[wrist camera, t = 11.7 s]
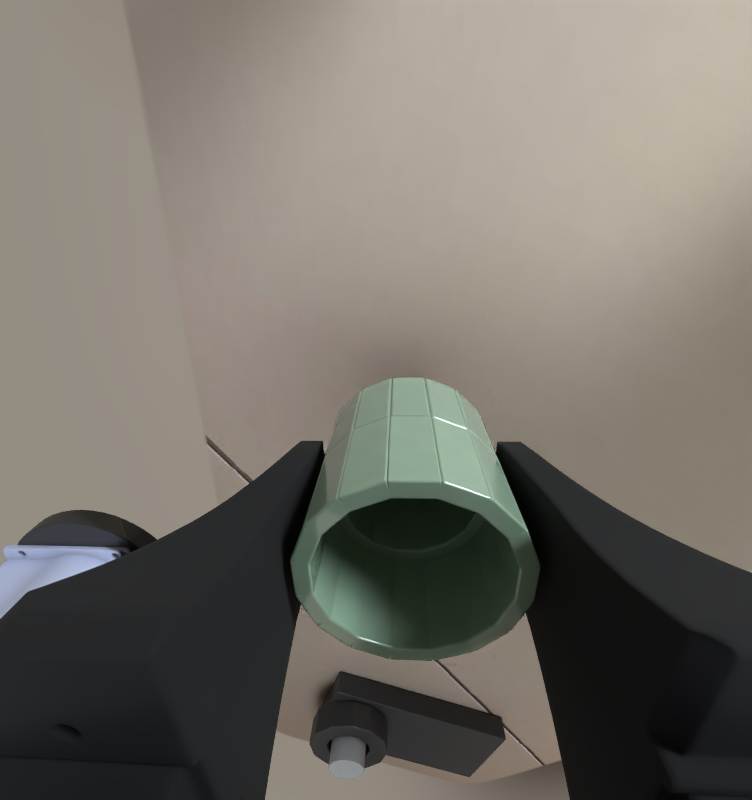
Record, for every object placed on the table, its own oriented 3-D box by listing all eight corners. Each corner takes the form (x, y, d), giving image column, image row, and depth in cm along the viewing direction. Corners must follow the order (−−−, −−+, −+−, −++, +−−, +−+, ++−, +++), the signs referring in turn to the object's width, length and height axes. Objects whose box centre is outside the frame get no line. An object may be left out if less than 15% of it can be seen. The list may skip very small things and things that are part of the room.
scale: (308, 712, 31) (300, 760, 28) (332, 668, 29) (324, 715, 26) (466, 755, 32) (473, 804, 30) (501, 717, 30) (511, 767, 27)
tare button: (327, 746, 28) (323, 774, 27) (338, 729, 27) (334, 756, 26) (359, 754, 28) (357, 782, 27) (370, 738, 27) (369, 766, 26)
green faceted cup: (338, 499, 14) (304, 657, 9) (327, 371, 12) (275, 479, 7) (476, 501, 14) (522, 665, 9) (489, 369, 12) (558, 482, 7)
